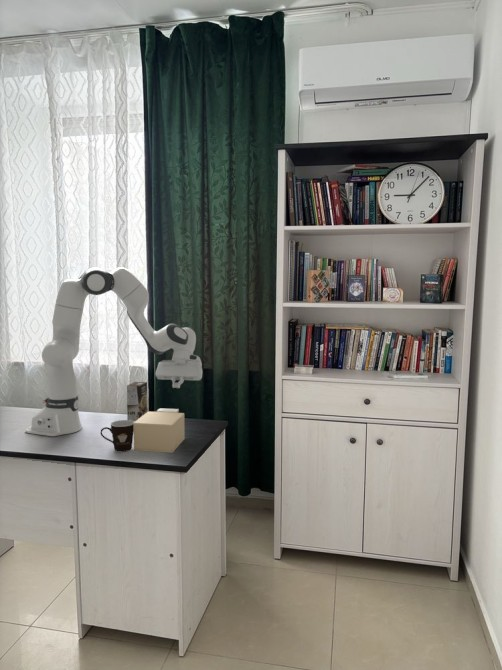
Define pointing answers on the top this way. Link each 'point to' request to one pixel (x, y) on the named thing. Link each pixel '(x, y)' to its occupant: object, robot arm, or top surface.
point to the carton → (159, 437)
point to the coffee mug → (121, 435)
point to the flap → (160, 417)
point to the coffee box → (136, 400)
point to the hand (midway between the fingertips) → (175, 387)
